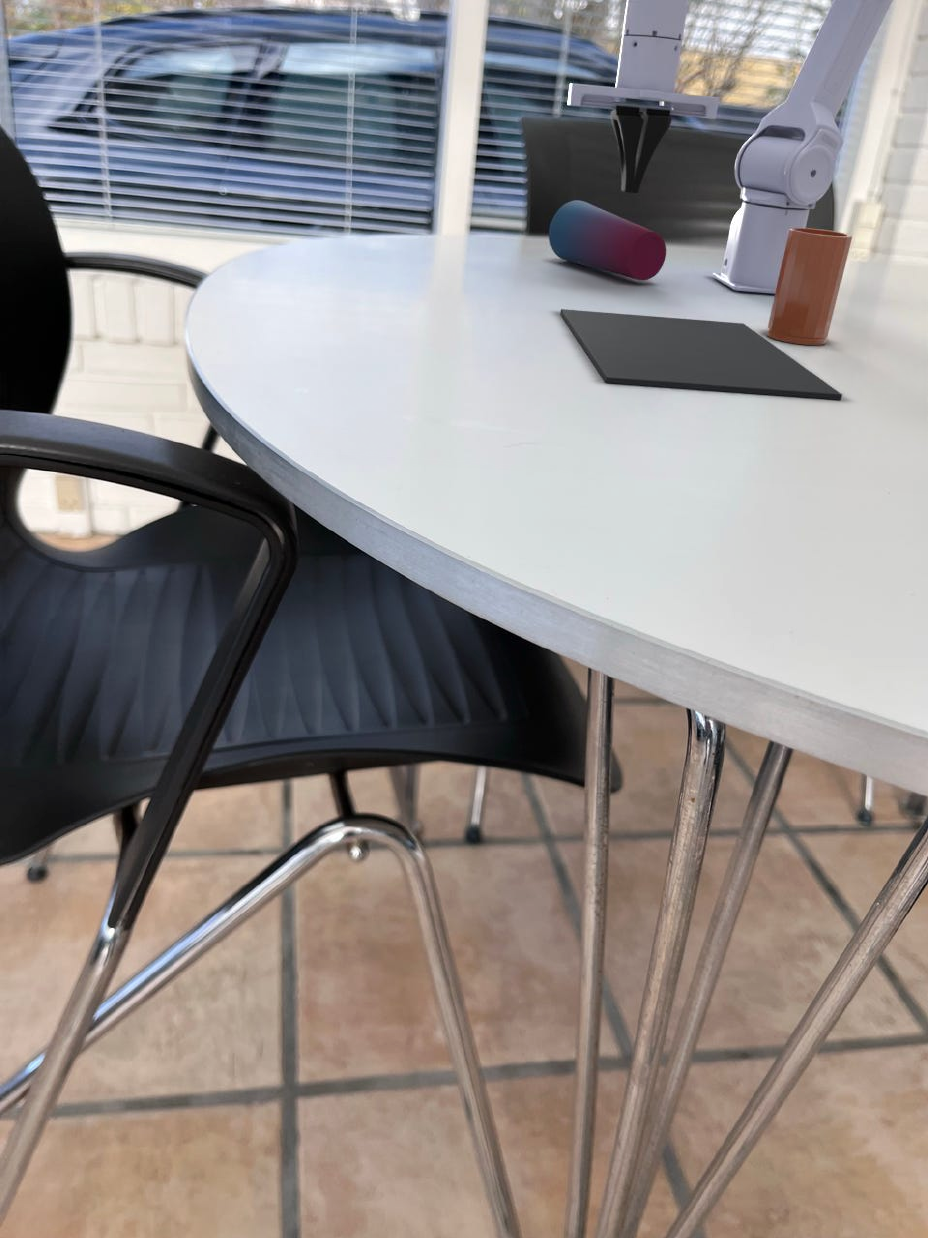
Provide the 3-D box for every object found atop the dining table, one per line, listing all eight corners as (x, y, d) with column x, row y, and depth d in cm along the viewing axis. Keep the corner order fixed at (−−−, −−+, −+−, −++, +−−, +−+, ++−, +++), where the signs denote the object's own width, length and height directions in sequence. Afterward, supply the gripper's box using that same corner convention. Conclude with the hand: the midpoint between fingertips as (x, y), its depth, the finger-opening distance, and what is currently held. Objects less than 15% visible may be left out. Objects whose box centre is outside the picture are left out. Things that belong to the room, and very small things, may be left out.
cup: (673, 279, 113) (599, 252, 124) (673, 215, 109) (596, 193, 120) (622, 296, 110) (551, 267, 122) (619, 231, 107) (546, 207, 118)
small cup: (758, 329, 94) (781, 225, 89) (813, 334, 94) (838, 230, 90) (777, 342, 89) (801, 233, 85) (834, 347, 89) (861, 238, 85)
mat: (560, 313, 92) (560, 308, 92) (742, 327, 94) (743, 323, 94) (606, 382, 71) (606, 376, 71) (841, 399, 73) (842, 394, 72)
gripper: (583, 29, 93) (564, 189, 100) (738, 44, 95) (709, 201, 101) (572, 32, 100) (555, 182, 106) (717, 46, 101) (692, 194, 107)
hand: (629, 191), depth 104 cm, fingers closed
